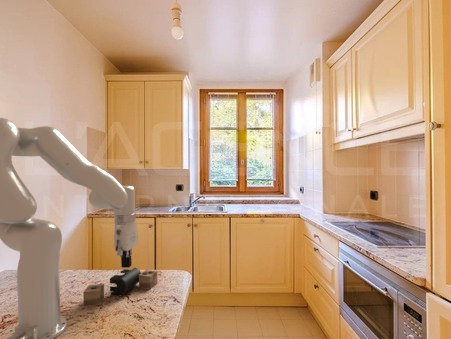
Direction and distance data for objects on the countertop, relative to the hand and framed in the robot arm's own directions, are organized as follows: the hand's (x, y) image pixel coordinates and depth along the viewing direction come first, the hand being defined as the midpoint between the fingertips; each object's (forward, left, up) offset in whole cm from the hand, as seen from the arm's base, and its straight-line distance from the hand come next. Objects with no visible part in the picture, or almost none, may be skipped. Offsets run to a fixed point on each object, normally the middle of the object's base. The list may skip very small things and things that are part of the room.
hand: (126, 266), depth 96 cm
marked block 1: (-9, +7, -9) cm, 15 cm away
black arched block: (0, 0, -9) cm, 9 cm away
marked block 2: (+4, -7, -9) cm, 12 cm away
